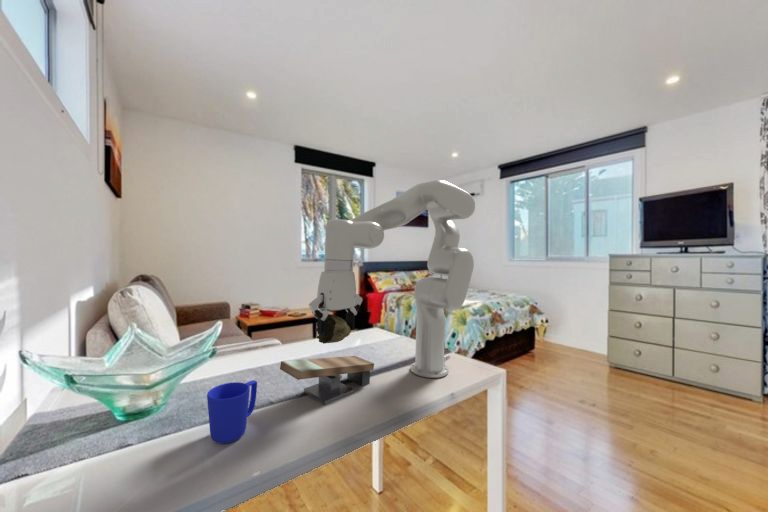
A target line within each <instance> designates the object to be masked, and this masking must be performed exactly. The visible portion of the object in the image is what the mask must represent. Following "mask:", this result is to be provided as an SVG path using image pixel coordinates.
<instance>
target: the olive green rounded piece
mask: <svg viewBox="0 0 768 512" xmlns="http://www.w3.org/2000/svg"><path fill="white" fill-rule="evenodd" d="M325 320H327V321H328V324H327V335H326V336H322V335H320V334H318V335H316V338H317V339H318V342H319V343H321V344H333V343H338V342H341V341H343V340H344V339H345V338H347V337H349V336H350V334H351V333H352V330H351V327H350V325H349V324H347V323H346V321H345V319H343V318H342V317H339V316H338V315H334V314H330V313H329V314H328V316H327V317H326V319H325ZM317 324H318V321H316V326H317ZM315 332H318V331H317V327H316V328H315Z"/></svg>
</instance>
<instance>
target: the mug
mask: <svg viewBox="0 0 768 512" xmlns="http://www.w3.org/2000/svg"><path fill="white" fill-rule="evenodd" d="M250 387H251V388H250ZM257 391H258V380H255V379H253V380H250V381H247V382H238V381H237V382H227V383H223V384H219V385H217V386H215V387H213V388H211V389H210V390H209V391H207V394H206V399H207V408H208V410H207V411H208V423H209V435H210V438H211V440H212V441H213V442H214V443H217V444H229V443H232V442H234V441H235V442H236V441H237V440H239V439H240V438H241V437H242V436H243V435H244V434H245V432H246V429H247V423H248V421H247V420H248V418H249V416H251V415H252V413H253V412H254V409H255V407H256V406H255V405H256V402H257V401H256V400H257Z"/></svg>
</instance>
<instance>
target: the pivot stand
mask: <svg viewBox="0 0 768 512" xmlns="http://www.w3.org/2000/svg"><path fill="white" fill-rule="evenodd" d="M346 376H347V377H346V378H347V379H346V380H348V381H350V382H352V383H354V384H356V385H359V387H360V386H361V387H364V386H367V385H369V384H370V382H371V381H370V380H371V371H363V372H355V373H348V374H346ZM303 393H305V394H307V395H308V396H309V397H311V398H312V399H315V400H316V401H317V402H319V403H321V404H322V405H329V404H331V403H333V402H336V401H338V400H340V399H343V398H345V397H348V396H350V395H353V394H355V389H354V388H352V387H350V386H349V385H346V384H344V383H343V382H341V379H339V378H337V377H335V376H333V375H332V376H324V377H318V383H316V384H313V385H310V386H307V387H304V388H303Z"/></svg>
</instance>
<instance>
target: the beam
mask: <svg viewBox="0 0 768 512" xmlns="http://www.w3.org/2000/svg"><path fill="white" fill-rule="evenodd" d="M374 368H375V363H374V362H371V361H369V360H366V359H364V358H362V357H358V356H357V355H348V356H347V355H346V356H334V357H332V356H331V357H321V358H307V359H303V358H302V359H294V360H282V361H280V367H279V370H281V371H282V372H284V373H286V374H287V375H289V376H290V377H293V378H294V379H295V380H307V379H308V380H309V379H314V378H319V377H324V376H332V375H333V376H335V377H337V378H339V379H340V380H341V379H342V377H343V375H347V374H348V373H355V372H363V371H370V372H371V371H374Z"/></svg>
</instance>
